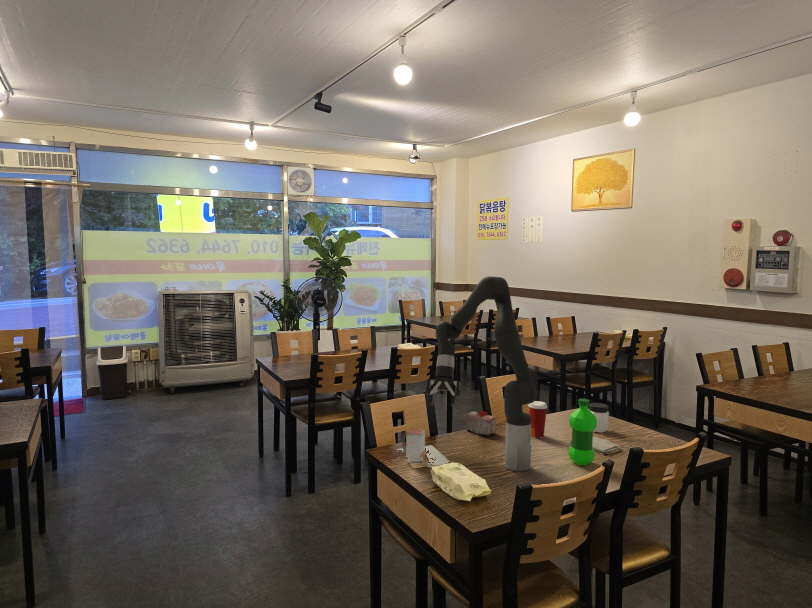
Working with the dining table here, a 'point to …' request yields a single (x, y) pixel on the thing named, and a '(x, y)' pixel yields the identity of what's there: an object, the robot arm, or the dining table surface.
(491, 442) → the dining table surface
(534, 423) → the coffee cup
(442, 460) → the mat
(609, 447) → the washcloth
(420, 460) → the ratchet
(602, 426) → the jar
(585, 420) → the plastic bottle
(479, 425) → the food item
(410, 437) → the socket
